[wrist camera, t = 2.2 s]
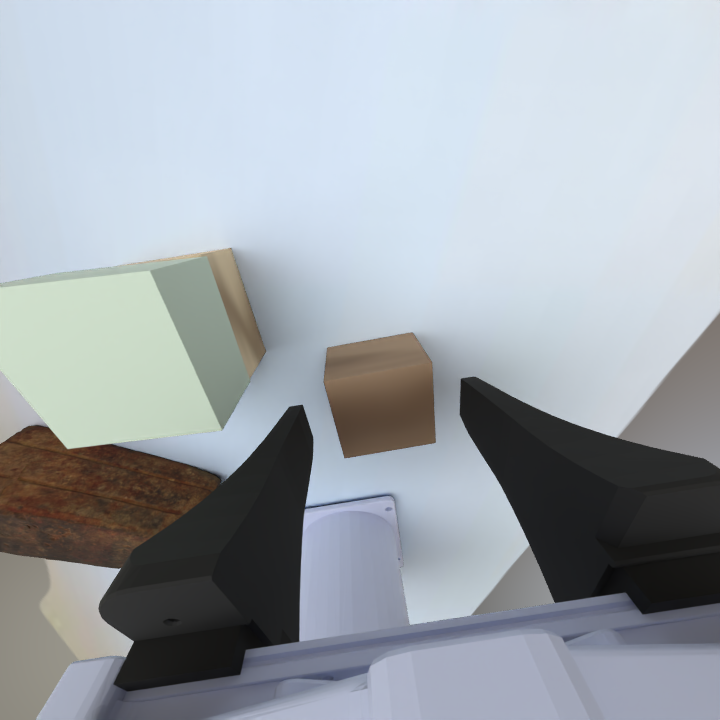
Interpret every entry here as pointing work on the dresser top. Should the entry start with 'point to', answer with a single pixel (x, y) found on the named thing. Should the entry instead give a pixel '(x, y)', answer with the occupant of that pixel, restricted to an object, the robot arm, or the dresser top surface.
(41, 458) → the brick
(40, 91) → the dresser top surface
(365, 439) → the walnut block
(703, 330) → the dresser top surface
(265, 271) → the dresser top surface
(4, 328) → the sage block
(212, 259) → the oak block
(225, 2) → the dresser top surface
